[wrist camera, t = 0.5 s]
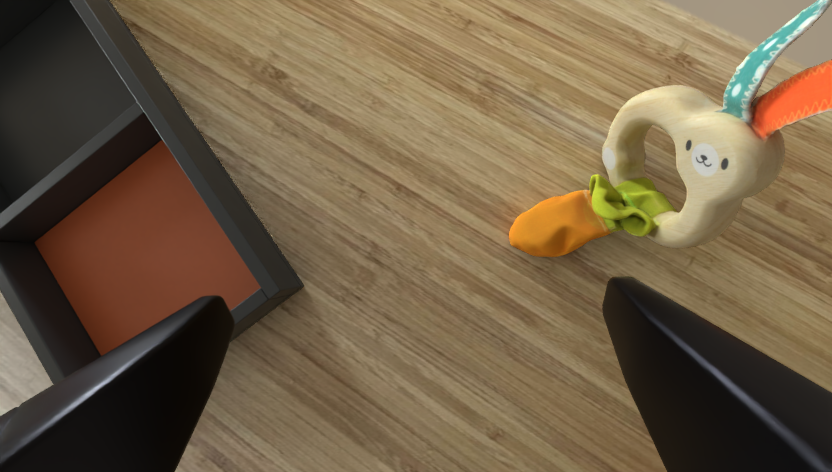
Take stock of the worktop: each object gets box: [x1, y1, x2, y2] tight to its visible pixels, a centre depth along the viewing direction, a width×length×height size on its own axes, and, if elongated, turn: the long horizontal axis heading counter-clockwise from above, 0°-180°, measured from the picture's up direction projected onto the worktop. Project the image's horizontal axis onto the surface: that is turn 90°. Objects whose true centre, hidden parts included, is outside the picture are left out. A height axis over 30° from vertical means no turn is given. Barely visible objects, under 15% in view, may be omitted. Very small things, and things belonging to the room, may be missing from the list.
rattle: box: [509, 0, 832, 257], centre depth 14 cm, size 8×8×12 cm
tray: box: [0, 0, 304, 384], centre depth 22 cm, size 14×26×3 cm, turn 36°
